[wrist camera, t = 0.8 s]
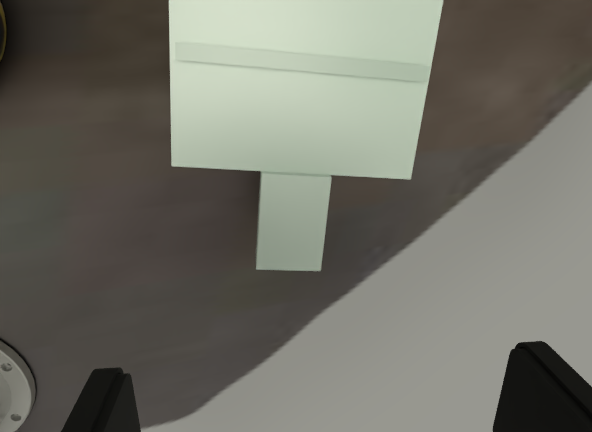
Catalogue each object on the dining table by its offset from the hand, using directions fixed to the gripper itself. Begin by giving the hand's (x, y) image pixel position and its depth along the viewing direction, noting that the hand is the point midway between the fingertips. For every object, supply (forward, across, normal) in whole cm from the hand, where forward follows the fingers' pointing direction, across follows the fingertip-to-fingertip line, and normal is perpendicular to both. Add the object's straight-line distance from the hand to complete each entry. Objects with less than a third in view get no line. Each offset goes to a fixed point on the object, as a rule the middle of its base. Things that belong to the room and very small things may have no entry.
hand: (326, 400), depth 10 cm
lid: (+17, -1, -8) cm, 18 cm away
